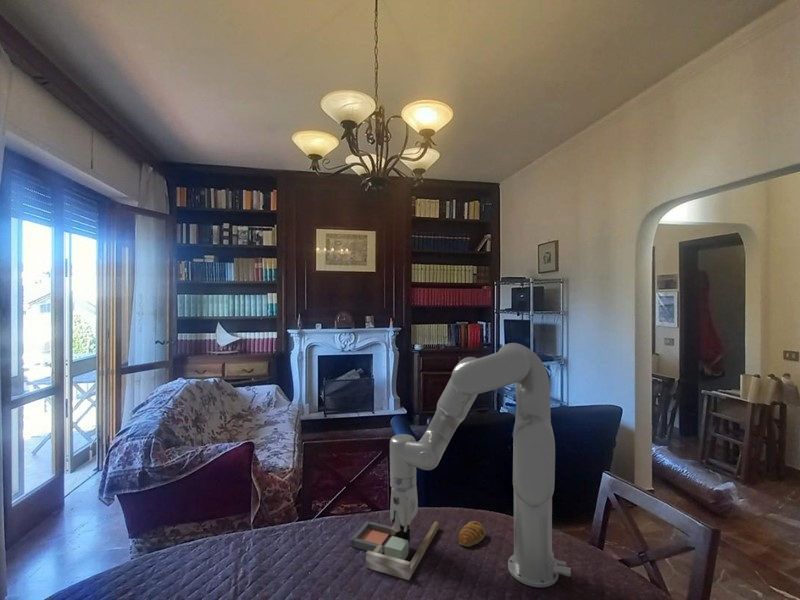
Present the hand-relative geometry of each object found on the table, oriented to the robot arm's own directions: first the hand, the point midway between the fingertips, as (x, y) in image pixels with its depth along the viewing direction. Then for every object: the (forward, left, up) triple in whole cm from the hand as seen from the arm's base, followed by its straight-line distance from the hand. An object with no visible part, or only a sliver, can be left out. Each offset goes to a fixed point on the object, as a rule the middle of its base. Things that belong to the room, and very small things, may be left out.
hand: (403, 542), depth 117 cm
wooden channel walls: (0, -1, -2) cm, 2 cm away
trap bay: (+10, 0, -2) cm, 10 cm away
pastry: (-17, -12, -2) cm, 21 cm away
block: (0, +4, -2) cm, 5 cm away
